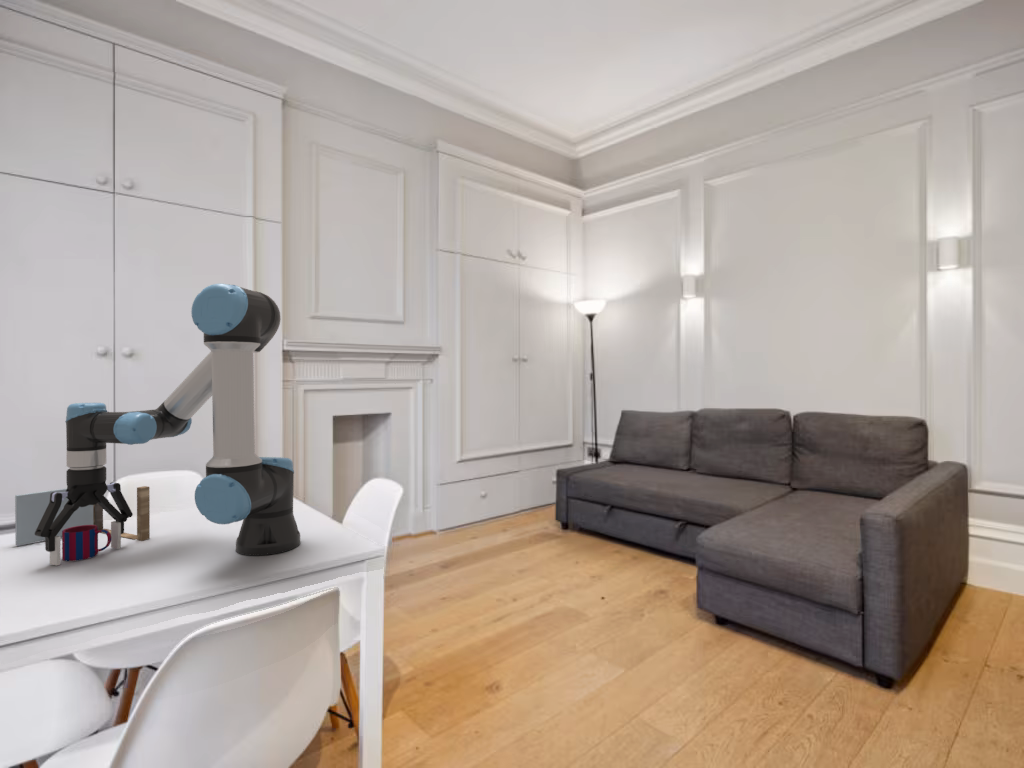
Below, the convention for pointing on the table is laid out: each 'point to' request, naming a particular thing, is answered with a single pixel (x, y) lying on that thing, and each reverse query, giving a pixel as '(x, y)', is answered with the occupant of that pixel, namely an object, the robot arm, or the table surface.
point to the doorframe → (142, 516)
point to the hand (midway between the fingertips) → (86, 555)
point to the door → (32, 511)
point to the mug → (81, 542)
